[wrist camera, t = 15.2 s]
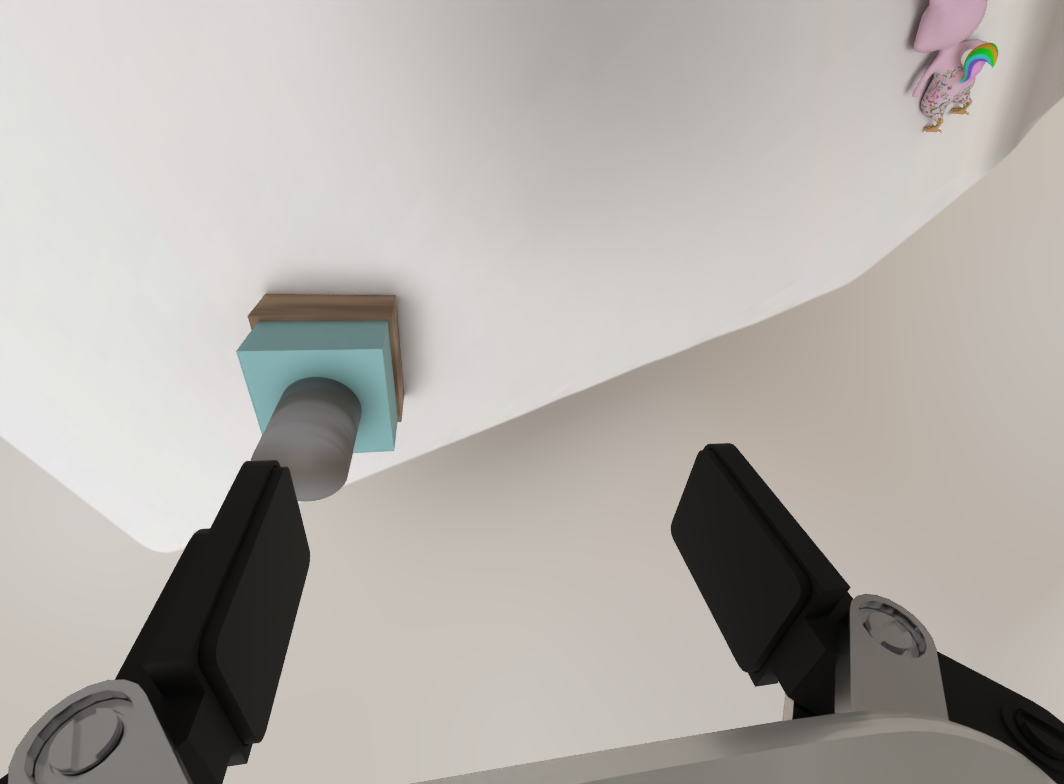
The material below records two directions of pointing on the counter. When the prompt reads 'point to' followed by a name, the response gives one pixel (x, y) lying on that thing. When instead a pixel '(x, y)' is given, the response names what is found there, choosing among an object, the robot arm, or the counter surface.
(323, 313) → the walnut base block
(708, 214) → the counter surface
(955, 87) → the pink patterned figure
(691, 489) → the robot arm
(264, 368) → the teal top block
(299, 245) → the counter surface
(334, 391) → the charcoal cylinder
